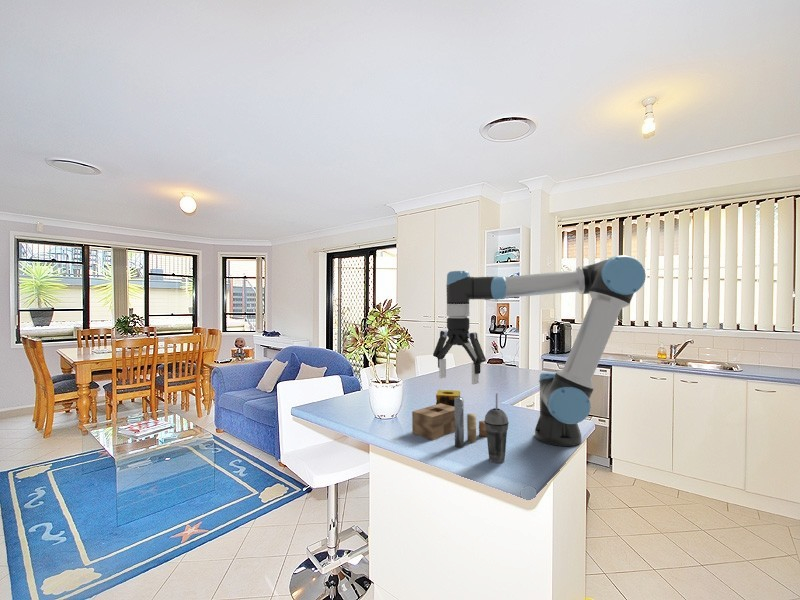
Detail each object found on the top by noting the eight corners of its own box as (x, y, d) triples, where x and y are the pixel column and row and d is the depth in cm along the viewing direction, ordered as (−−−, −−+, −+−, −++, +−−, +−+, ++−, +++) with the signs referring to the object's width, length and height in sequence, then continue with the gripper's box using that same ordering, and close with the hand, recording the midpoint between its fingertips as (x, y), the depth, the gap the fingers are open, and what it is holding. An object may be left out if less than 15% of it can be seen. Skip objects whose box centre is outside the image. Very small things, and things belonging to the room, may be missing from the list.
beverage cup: (482, 462, 116) (482, 396, 116) (486, 453, 123) (485, 390, 123) (508, 466, 113) (507, 398, 113) (510, 457, 120) (509, 392, 120)
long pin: (465, 446, 129) (465, 398, 130) (460, 448, 127) (459, 399, 127) (458, 443, 132) (458, 396, 132) (453, 446, 130) (452, 398, 130)
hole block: (460, 429, 146) (460, 408, 146) (432, 440, 135) (432, 417, 135) (440, 423, 154) (440, 403, 154) (412, 433, 143) (412, 411, 143)
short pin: (489, 435, 139) (489, 421, 139) (484, 438, 137) (484, 423, 137) (482, 433, 141) (482, 420, 141) (477, 435, 139) (477, 421, 139)
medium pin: (477, 440, 134) (477, 414, 134) (472, 443, 132) (472, 416, 132) (470, 438, 136) (470, 413, 136) (465, 440, 134) (465, 414, 134)
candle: (460, 420, 157) (460, 396, 157) (435, 419, 159) (435, 395, 160) (461, 413, 167) (461, 390, 167) (438, 412, 169) (437, 389, 169)
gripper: (496, 317, 123) (496, 384, 123) (437, 316, 141) (437, 374, 141) (483, 318, 118) (483, 388, 118) (423, 316, 136) (423, 377, 136)
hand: (458, 380), depth 130 cm, fingers open, 13 cm apart
